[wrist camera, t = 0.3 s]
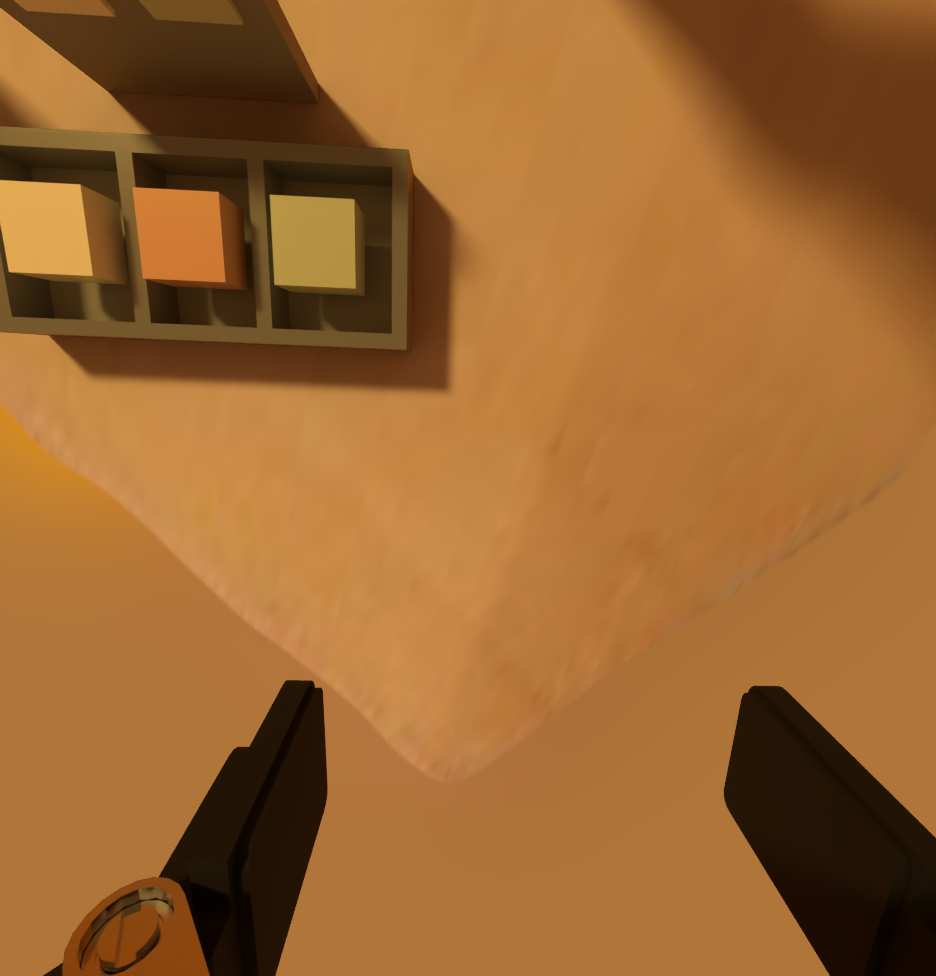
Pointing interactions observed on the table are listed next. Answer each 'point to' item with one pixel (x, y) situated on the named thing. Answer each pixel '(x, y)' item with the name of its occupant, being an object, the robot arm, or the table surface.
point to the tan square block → (62, 233)
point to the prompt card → (176, 46)
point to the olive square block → (318, 245)
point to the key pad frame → (248, 183)
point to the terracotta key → (191, 238)
